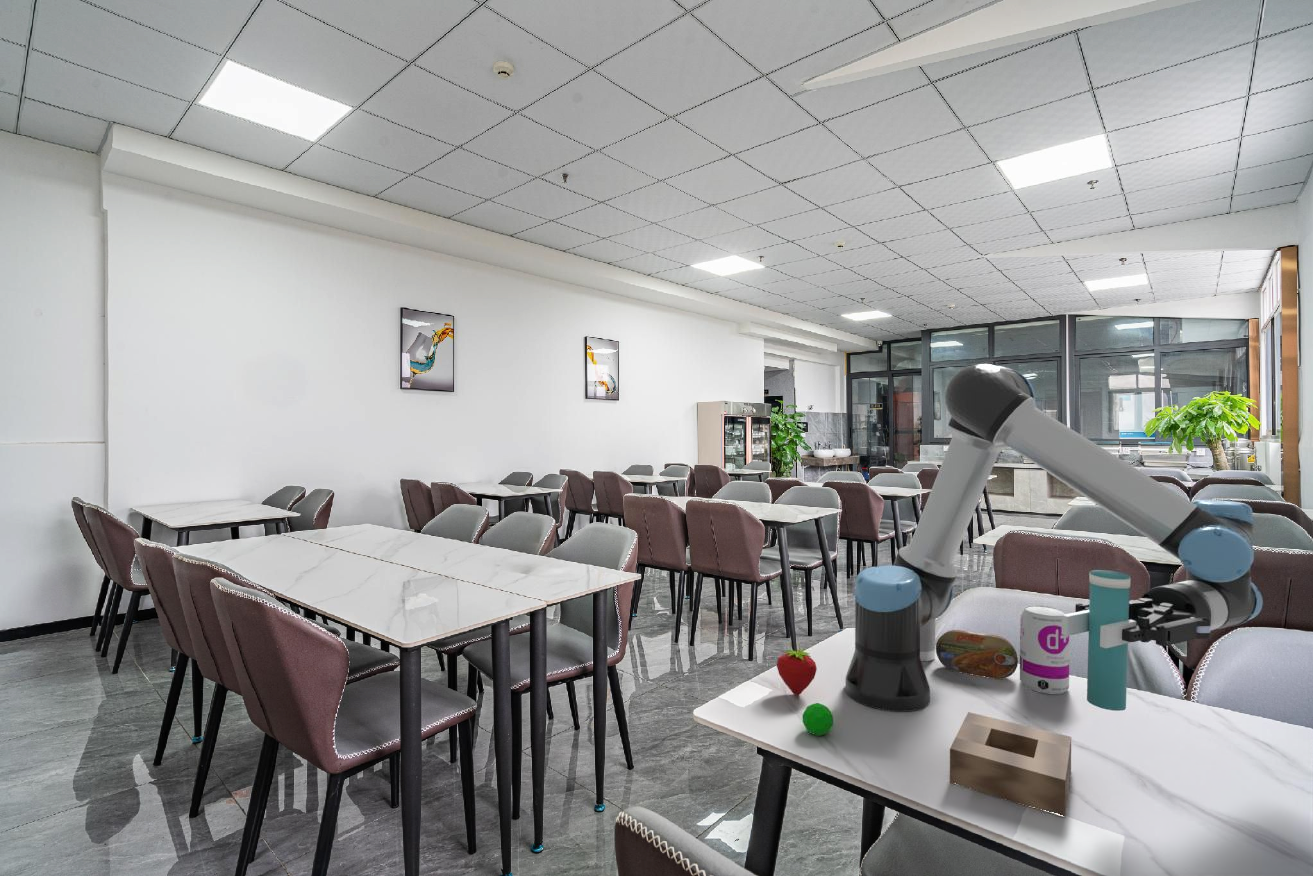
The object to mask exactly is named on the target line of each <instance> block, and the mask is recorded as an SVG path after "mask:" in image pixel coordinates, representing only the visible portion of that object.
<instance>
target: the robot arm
mask: <svg viewBox="0 0 1313 876" xmlns="http://www.w3.org/2000/svg"><path fill="white" fill-rule="evenodd" d="M1035 393H1036V392H1035V390H1034V387H1033V385H1032V383H1031V382H1030V381H1029V379H1028V378H1027V377H1026V376H1025V375H1023V374H1022V373H1021V372H1019V371H1018V370H1015V369H1012V368H1010V367H1005V366H1000V365H994V364H989V363H978V364H972V365H969V366H966V367H964V368H962V369H960V370H959V371H958V372H956V373H955V374H954V375H953V377H951V379H950V380H949V382H948V384H947V386H946V389H945V395H944V401H945V406H946V409H947V411H948V413H949V415H950V419H949V422H948V424H947V428H948V429H949V431H950V433H951V435H952V437H951V439H950V441H949V445H948V446H947V447H948V448H947V450H946V453H945V454H944V457H943V460H942V462H941V465H940V468H939V470H938V473H937V474H936V477H935V480H934V483H933V485H932V488H931V490H930V493H929V495H928V497H927V501H926V503H925V505H924V508H923V510H922V513H921V515H920V518H919V521H918V523H917V525H916V528H915V531H914V534H913V536H912V538H911V541H910V543H909V544H908V545H906V546H902V547H901V548H899V549H898V552H897V554H896V558H895V559H894V562H893V564H892V565H878V566H871V567H868V568H865V569H863V570H861V571H860V572H858V574H857V576H856V579H855V587H854V590H853V591H854V593H853V594H854V652H853V654H852V658H851V660H850V664H849V667H848V669H847V671H846V675H845V692H846V694H847V695H848V696H849V697H850V698H852V699H853V700H854V701H855V702H857V703H860V704H862V705H865V706H867V707H870V708H874V709H879V710H884V711H892V712H910V711H916V710H921V709H923V708H925V707H928V705H929V703H930V702H931V689H930V684H929V682H928V678H927V675H926V672H925V670H924V666H923V663H922V662H923V661H921V659H920V627H922V626H923V625H925V624H926V623H928V622H929V621H931V620H934V619H938V618H939V617H940V616H942V615H943V614H944V613H945V612H946V611H947V610H948V608H949V607H950V605H951V603H952V601H953V598H954V592H955V591H954V589H955V588H954V584H955V580H956V579H957V575H958V570H957V568H956V566H955V564H954V561H955V559H956V555H957V554H958V552H959V549H960V546H961V545H962V542H963V540H964V537H965V535H966V532H967V530H968V527H969V526H970V522H971V521H972V519H973V515H974V514H975V511H976V508H977V506H978V504H979V501H980V499H981V497H982V494H983V492H984V489H985V487H986V484H987V483H988V481H989V480H988V479H989V477H990V475H991V473H992V470H993V468H994V465H995V463H996V460H997V459H998V456H999V453H1000V452H1002V451H1005V450H1007V449H1009V448H1010V449H1012V450H1013V451H1015V452H1016V453H1017V454H1019V455H1021V456H1022V457H1024V458H1025V459H1027V460H1028V461H1030V462H1031V463H1033V464H1034V465H1036V466H1037V467H1039V468H1041V469H1043V470H1044V471H1045V472H1046V473H1048V474H1049V475H1051V476H1053V477H1054V478H1056V479H1057V480H1059V481H1060V482H1062V483H1064V484H1065V485H1067V486H1068V487H1069V488H1071V489H1073V490H1074V491H1076V492H1077V493H1078V494H1080V495H1081V496H1083V497H1085V498H1086V499H1087V500H1089V501H1091V502H1092V503H1093V504H1095V505H1097V506H1099V507H1100V508H1102V510H1105V511H1107V512H1108V513H1109V514H1111V515H1113V516H1114V517H1115V518H1117V519H1118V520H1120V521H1121V522H1123V523H1124V524H1126V525H1127V526H1129V527H1130V528H1132V529H1134V530H1135V531H1136V532H1138V533H1139V534H1140V535H1143V536H1145V537H1146V538H1147V539H1149V540H1151V541H1152V542H1153V543H1155V544H1156V545H1158V546H1159V547H1160V548H1162V549H1163V550H1164V551H1166V552H1168V554H1171V555H1172V556H1174V557H1175V558H1176V559H1178V560H1180V562H1181V563H1182V565H1183V566H1184V567H1185V569H1186V572H1185V573H1186V577H1185V578H1186V579H1185V580H1184V581H1183V580H1182V581H1179V582H1173V583H1170V584H1165V585H1159V586H1155V587H1151V588H1150V589H1149V590H1146V592H1145V593H1143V595H1142V596H1141V598H1138V599H1129V619H1128V620H1127V621H1121V622H1117V623H1112V624H1108V625H1103V626H1101V628H1100V647H1103V648H1110V647H1114V646H1118V645H1122V644H1126V643H1128V644H1130V643H1136V642H1141V643H1150V642H1151V641H1155V644H1156V645H1158V646H1160V647H1167V646H1172V645H1176V644H1181V643H1185V642H1188V641H1194V640H1196V639H1198V640H1199V639H1201V640H1202V639H1205V640H1206V639H1211V631H1216V630H1220V629H1224V628H1228V627H1236V626H1241V625H1242V624H1245V623H1246V622H1248V621H1250V620H1252V619H1254V618H1255V617H1257V616H1258V615H1259V613H1260V612H1261V611H1262V608H1263V604H1264V602H1263V596H1262V594H1261V592H1260V590H1259V589H1258V587H1257V586H1256V585H1255V584H1254V583H1253V582H1252V575H1251V573H1252V572H1251V568H1252V567H1251V566H1252V565H1253V563H1254V561H1255V560H1254V559H1255V551H1254V547H1253V535H1254V533H1253V530H1254V525H1255V523H1254V521H1253V509H1252V507H1251V506H1250V505H1249V504H1246V503H1244V502H1240V501H1239V502H1238V501H1232V500H1221V499H1195V500H1193V501H1190V500H1188V499H1187V498H1185V497H1183V496H1182V495H1180V494H1179V493H1177V492H1175V491H1174V490H1172V489H1170V488H1169V487H1168V486H1166V485H1164V484H1162V483H1160V482H1159V481H1157V480H1156V479H1154V478H1152V477H1150V476H1149V475H1147V473H1144V472H1143V471H1141V470H1139V469H1138V468H1136V467H1134V466H1132V465H1131V464H1130V463H1128V462H1125V460H1123V459H1122V458H1119V457H1118V456H1116V455H1115V454H1113V453H1112V452H1110V451H1108V450H1106V449H1105V448H1103V447H1102V446H1100V445H1098V444H1097V443H1095V442H1094V441H1092V440H1090V439H1088V438H1087V437H1085V436H1084V435H1082V434H1081V433H1078V432H1077V431H1076V430H1073V429H1072V428H1070V427H1068V426H1067V425H1066V424H1064V423H1062V422H1061V421H1059V420H1057V419H1056V418H1054V417H1052V416H1051V415H1049V414H1047V413H1046V412H1044V411H1042V410H1041V409H1039V408H1038V407H1037V403H1036V394H1035ZM1089 601H1090V600H1086V601H1081V602H1076V603H1075V607H1074V608H1075V609H1074V610H1075V611H1074V612H1071V613H1070V612H1069V613H1066V614H1065V615H1062V635H1065V636H1070V637H1071V636H1074V635H1078V634H1079V635H1080V634H1083V633H1086V632H1088V633H1089Z"/></svg>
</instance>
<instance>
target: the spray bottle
mask: <svg viewBox="0 0 1313 876" xmlns="http://www.w3.org/2000/svg"><path fill="white" fill-rule="evenodd" d="M936 619H937V618H936ZM936 619H934V620H931V621H929V622H928V623H926V624H925V625H923V626H922V627H920V659H921V662H929V661H930V662H931V661H933V660H934V659H935V658H936V623H937V622H936Z"/></svg>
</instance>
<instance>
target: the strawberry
mask: <svg viewBox="0 0 1313 876" xmlns="http://www.w3.org/2000/svg"><path fill="white" fill-rule="evenodd" d="M782 653H784V654H782V655H780V656H779V657H778V658H777V661H776V669H777V671H778V675H779V676H780V678H781V680H782V681H783V682H784V684H785V685H786V687H787V688H788V689H789V690H790V691H791V693H792V694H793V695H795V694H797V695H796V696H799V694H800V695H801V694H802V693H803V692H804V691H805V689H807V688H808V687H809V686H810V684H811V683H812V681H814V679H815V676H816V673H817V671H818V669H817V664H816V662H815V660H814V659H813V658H812V656H811V655H810V653H809V652H806V651H804V648H800V641H798V649H797V651H796V650H791V649H786V651H782Z"/></svg>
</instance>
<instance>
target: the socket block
mask: <svg viewBox="0 0 1313 876" xmlns="http://www.w3.org/2000/svg"><path fill="white" fill-rule="evenodd" d="M1071 773H1072V736H1070V735H1069V736H1068V735H1065V734H1062V733H1057V732H1052V731H1048V730H1045V729H1039V728H1036V727H1031V726H1027V725H1024V724H1019V723H1016V722H1015V723H1014V722H1011V721H1006V720H1002V719H998V718H995V717H990V716H986V715H982V714H977V713H974V712H970V711H968V712H967V714H966V716H965V718H964V719H963V722H962V723H961V725H960V727H959V730H958V731H957V733H956V736H955V737H954V739H953V742H952V743H951V745H950V747H949V783H950V782H951V783H950V784H952V783H956V784H958V785H957V786H959V785H960V786H959V787H962V786H963V788H967V789H969V788H971V789H970V790H973V791H975V790H977V791H976V792H979V793H982V792H983V793H982V794H987V795H989V796H992V797H996V798H998V797H999V798H998V799H1003V800H1005V799H1006V800H1005V801H1009V802H1011V803H1014V804H1015V803H1016V804H1018V803H1020V804H1019V805H1021V804H1024V805H1023V806H1025V805H1027V806H1026V807H1028V806H1031V807H1035V808H1038V809H1042V810H1046V811H1049V812H1054V813H1058V814H1060V815H1063V816H1065V817H1066V813H1067V812H1066V810H1067V805H1066V804H1067V803H1068V795H1069V789H1070V782H1071V781H1070V780H1071ZM956 784H955V785H956ZM1031 807H1030V808H1031ZM1035 808H1034V809H1035ZM1038 809H1037V810H1038ZM1065 812H1066V813H1065Z"/></svg>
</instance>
